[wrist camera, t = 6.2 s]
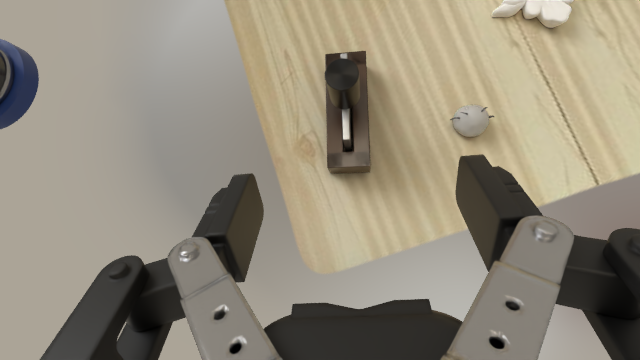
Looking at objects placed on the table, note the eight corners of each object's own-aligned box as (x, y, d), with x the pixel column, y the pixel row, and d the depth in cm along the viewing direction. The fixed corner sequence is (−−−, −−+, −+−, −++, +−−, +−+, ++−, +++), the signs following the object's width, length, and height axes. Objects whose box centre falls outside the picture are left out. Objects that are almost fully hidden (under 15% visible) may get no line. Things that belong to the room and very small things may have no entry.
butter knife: (362, 155, 34) (360, 123, 24) (337, 156, 34) (325, 125, 25) (359, 81, 35) (357, 23, 26) (335, 83, 36) (323, 27, 26)
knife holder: (369, 172, 34) (370, 166, 31) (330, 173, 34) (327, 168, 31) (365, 65, 36) (365, 50, 33) (328, 68, 36) (325, 54, 33)
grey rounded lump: (444, 113, 34) (451, 103, 31) (484, 102, 33) (494, 92, 31) (453, 142, 33) (461, 135, 30) (494, 132, 33) (505, 123, 30)
